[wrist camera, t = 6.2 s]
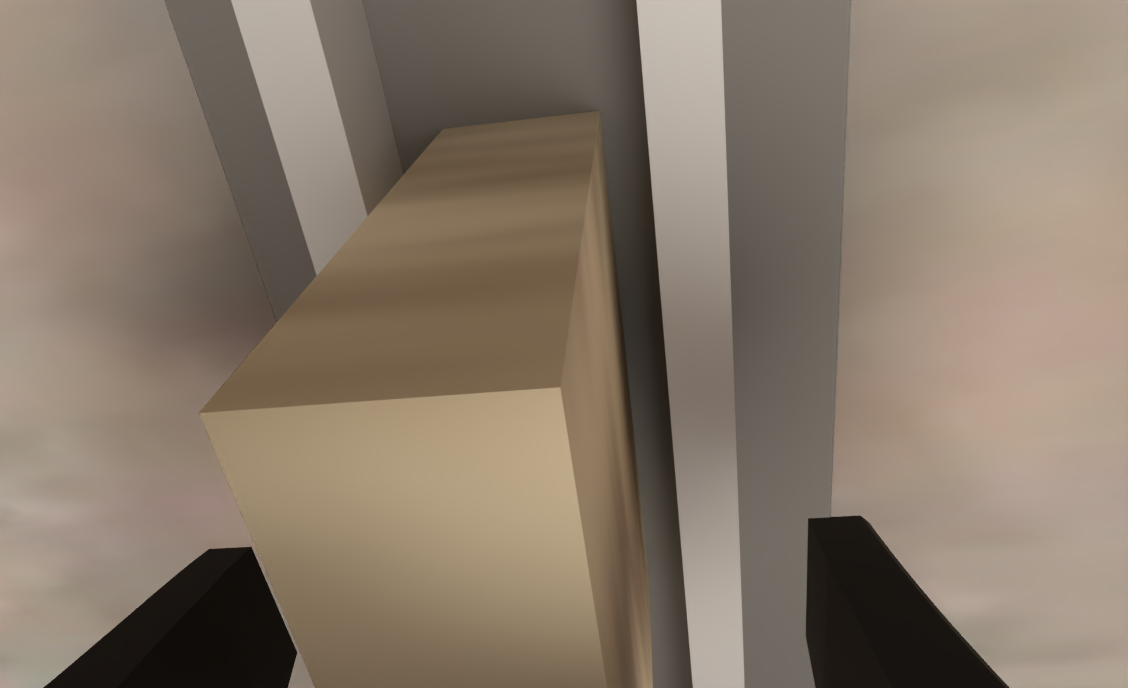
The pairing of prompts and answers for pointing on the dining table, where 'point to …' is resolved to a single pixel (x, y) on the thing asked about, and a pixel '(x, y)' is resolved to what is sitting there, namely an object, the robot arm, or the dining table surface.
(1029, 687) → the dining table surface
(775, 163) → the track board
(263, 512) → the door panel
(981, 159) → the dining table surface
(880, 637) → the robot arm
